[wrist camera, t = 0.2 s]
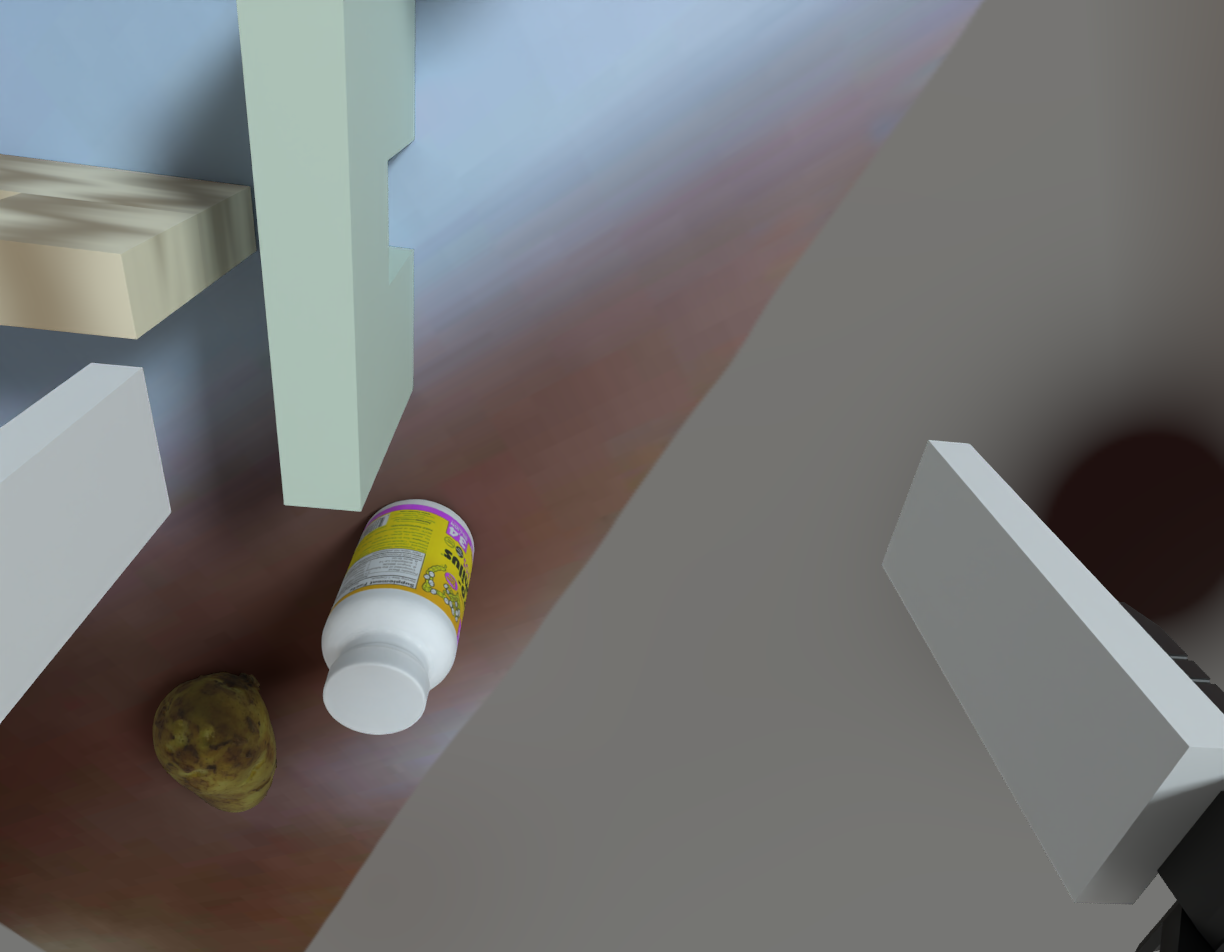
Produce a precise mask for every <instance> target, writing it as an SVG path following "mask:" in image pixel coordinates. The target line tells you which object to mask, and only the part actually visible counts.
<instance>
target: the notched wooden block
mask: <svg viewBox="0 0 1224 952" xmlns="http://www.w3.org/2000/svg"><path fill="white" fill-rule="evenodd" d="M256 251H257V250H256V239H255V229H254V219H253V208H252V198H251V188H250V186H244V185H236V184H229V183H221V182H213V181H205V180H197V179H190V178H182V177H174V176H166V175H159V174H151V173H143V172H135V171H128V170H120V169H112V168H104V167H97V166H89V165H81V164H73V163H66V162H58V161H50V160H42V159H34V158H27V157H19V156H11V155H3V154H0V325H6V326H16V327H25V328H35V329H44V330H53V331H63V332H72V333H82V334H91V335H100V336H110V337H119V338H129V339H138V338H139V337H141V336H142V335H143V334H145V333H146V332H147V331H149V330H150V329H151V328H153V327H154V326H156V325H157V324H158V323H160V322H161V321H162V320H164V319H165V318H166V317H168V316H169V315H170V314H172V313H173V312H174V311H176V310H177V309H179V308H180V307H181V306H183V305H184V304H185V303H187V302H188V301H189V300H191V299H192V298H193V297H195V296H196V295H197V294H199V293H200V292H202V291H203V290H204V289H206V288H207V287H208V286H210V285H211V284H212V283H214V282H215V281H216V280H218V279H219V278H220V277H222V276H223V275H225V274H226V273H227V272H229V271H230V270H231V269H233V268H234V267H235V266H237V265H238V264H239V263H241V262H242V261H243V260H245V259H246V258H247V257H249V256H250V255H252V254H253V253H254V252H256Z"/></svg>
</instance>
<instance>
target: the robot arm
mask: <svg viewBox="0 0 1224 952" xmlns="http://www.w3.org/2000/svg"><path fill="white" fill-rule="evenodd" d="M170 513H171V508H170V503H169V498H168V493H167V488H166V483H165V478H164V473H163V468H162V463H161V458H160V453H159V448H158V443H157V438H156V433H155V428H154V423H153V418H152V413H151V407H150V402H149V397H148V392H147V387H146V382H145V377H144V372H143V367H132V366H121V365H110V364H100V363H90V364H89V365H87V366H86V367H85V368H83V369H82V370H80V371H79V372H78V373H76V374H75V375H73V376H72V377H71V378H69V379H68V380H66V381H65V382H64V383H62V384H61V385H59V386H58V387H57V388H55V389H54V390H52V391H51V392H50V393H48V394H47V395H46V396H44V397H43V398H41V399H40V400H39V401H37V402H36V403H34V404H33V405H32V406H30V407H29V408H27V409H26V410H25V411H23V412H22V413H20V414H19V415H18V416H16V417H15V418H13V419H12V420H11V421H9V422H8V423H6V424H5V425H4V426H2V427H1V428H0V723H1V722H2V720H3V719H4V718H5V717H6V716H7V714H8V713H9V712H10V711H11V709H12V708H13V707H14V706H15V704H16V703H17V702H18V701H19V699H20V698H21V697H22V696H23V695H24V693H25V692H26V691H27V690H28V688H29V687H30V686H31V685H32V683H33V682H34V681H35V680H36V678H37V677H38V676H39V675H40V674H41V672H42V671H43V670H44V669H45V667H46V666H47V665H48V664H49V662H50V661H51V660H52V659H53V658H54V656H55V655H56V654H57V653H58V651H59V650H60V649H61V648H62V646H63V645H64V644H65V643H66V641H67V640H68V639H69V638H70V637H71V635H72V634H73V633H74V632H75V630H76V629H77V628H78V627H79V625H80V624H81V623H82V622H83V621H84V619H85V618H86V617H87V616H88V614H89V613H90V612H91V611H92V609H93V608H94V607H95V606H96V604H97V603H98V602H99V601H100V600H101V598H102V597H103V596H104V595H105V593H106V592H107V591H108V590H109V588H110V587H111V586H112V585H113V583H114V582H115V581H116V580H117V579H118V577H119V576H120V575H121V574H122V572H123V571H124V570H125V569H126V567H127V566H128V565H129V564H130V563H131V561H132V560H133V559H134V558H135V556H136V555H137V554H138V553H139V551H140V550H141V549H142V548H143V546H144V545H145V544H146V543H147V542H148V540H149V539H150V538H151V537H152V535H153V534H154V533H155V532H156V530H157V529H158V528H159V527H160V526H161V524H162V523H163V522H164V521H165V519H166V518H167V517H168V516H169V514H170ZM882 567H883V569H884V570H885V572H886V574H887V576H888V577H889V579H890V581H891V583H892V584H893V586H894V588H895V590H896V591H897V593H898V595H899V596H900V598H901V600H902V602H903V604H904V605H905V607H906V609H907V611H908V612H909V614H910V616H911V618H912V619H913V621H914V623H915V625H916V626H917V628H918V630H919V631H920V633H921V635H922V637H923V639H924V640H925V642H926V644H927V646H928V647H929V649H930V651H931V653H932V654H933V656H934V658H935V660H936V662H937V663H938V665H939V667H940V669H941V670H942V672H943V674H944V675H945V677H946V679H947V681H948V683H949V684H950V686H951V688H952V690H953V691H954V693H955V695H956V696H957V698H958V700H959V702H960V704H961V705H962V707H963V709H964V711H965V712H966V714H967V716H968V718H969V719H970V721H971V723H972V725H973V726H974V728H975V730H976V732H977V733H978V735H979V737H980V739H981V740H982V742H983V744H984V746H985V747H986V749H987V751H988V753H989V754H990V756H991V758H992V760H993V761H994V763H995V765H996V767H997V769H998V770H999V772H1000V774H1001V776H1002V777H1003V779H1004V781H1005V783H1006V784H1007V786H1008V788H1009V790H1010V791H1011V793H1012V795H1013V797H1014V798H1015V800H1016V802H1017V804H1018V805H1019V807H1020V809H1021V810H1022V812H1023V814H1024V816H1025V818H1026V819H1027V821H1028V823H1029V825H1030V826H1031V828H1032V830H1033V832H1034V833H1035V835H1036V837H1037V839H1038V840H1039V842H1040V844H1041V846H1042V847H1043V849H1044V851H1045V853H1046V854H1047V856H1048V858H1049V860H1050V861H1051V863H1052V865H1053V867H1054V869H1055V870H1056V872H1057V874H1058V875H1059V877H1060V879H1061V881H1062V882H1063V884H1064V886H1065V888H1066V889H1067V891H1068V893H1069V895H1070V896H1071V898H1072V900H1073V902H1074V903H1097V904H1134V903H1135V901H1136V900H1137V899H1138V898H1139V896H1140V895H1141V894H1142V893H1143V891H1144V890H1145V888H1147V887H1148V885H1149V884H1150V883H1151V882H1152V880H1153V879H1154V878H1155V877H1156V875H1157V874H1158V873H1159V874H1160V876H1161V877H1162V879H1163V880H1164V882H1165V883H1166V885H1167V886H1168V888H1169V889H1170V890H1171V892H1172V893H1173V895H1174V896H1175V898H1176V899H1177V901H1176V902H1175V903H1174V905H1173V906H1172V907H1171V908H1170V909H1169V910H1168V911H1167V913H1166V914H1165V915H1164V916H1163V917H1162V919H1161V920H1160V921H1159V922H1158V923H1157V924H1156V926H1155V927H1154V928H1153V929H1152V930H1151V931H1150V932H1149V934H1148V935H1147V936H1146V937H1145V938H1144V940H1143V941H1142V942H1141V943H1140V944H1139V946H1138V948H1137V950H1136V951H1135V952H1153V951H1158V950H1160V952H1224V692H1223V691H1222V690H1221V689H1220V688H1219V687H1218V686H1217V685H1216V684H1210V681H1209V680H1210V678H1209V677H1208V676H1207V675H1206V674H1205V673H1204V672H1203V671H1202V670H1201V669H1200V668H1199V666H1198V665H1197V664H1195V662H1194V661H1188V659H1187V656H1188V655H1187V654H1186V653H1185V652H1184V651H1183V650H1182V649H1181V648H1180V647H1179V646H1178V645H1177V644H1176V643H1175V642H1174V641H1173V640H1172V639H1171V638H1170V637H1169V636H1168V635H1167V634H1166V633H1165V631H1164V630H1163V629H1162V628H1160V627H1159V626H1158V625H1156V624H1155V623H1153V622H1152V621H1150V620H1149V619H1147V618H1146V617H1145V616H1143V615H1142V614H1140V613H1139V612H1137V611H1136V610H1134V609H1133V608H1132V607H1130V606H1129V605H1127V604H1126V603H1124V602H1118V601H1117V600H1116V599H1115V598H1114V597H1113V596H1112V595H1111V594H1110V593H1109V592H1108V591H1107V590H1106V589H1105V587H1104V586H1102V584H1101V583H1100V582H1099V581H1098V580H1097V579H1096V578H1095V577H1094V576H1093V575H1092V574H1091V573H1090V572H1089V570H1088V569H1087V568H1086V567H1085V566H1084V565H1083V564H1082V563H1081V562H1080V561H1079V560H1078V559H1077V558H1076V557H1075V556H1074V554H1073V553H1072V552H1071V551H1070V550H1069V549H1068V548H1067V547H1066V546H1065V545H1064V544H1063V543H1062V542H1061V541H1060V540H1059V539H1058V538H1057V536H1056V535H1055V534H1054V533H1053V532H1052V531H1051V530H1050V529H1049V528H1048V527H1047V526H1046V525H1045V524H1044V523H1043V522H1042V520H1040V518H1039V517H1038V516H1037V515H1036V514H1035V513H1034V512H1033V511H1032V510H1031V509H1030V508H1029V507H1028V506H1027V505H1026V503H1025V502H1024V501H1023V500H1022V499H1021V498H1020V497H1019V496H1018V495H1017V494H1016V493H1015V492H1014V491H1013V490H1012V489H1011V488H1010V486H1009V485H1008V484H1007V483H1006V482H1005V481H1004V480H1003V479H1002V478H1001V477H1000V476H999V475H998V474H997V473H996V472H995V470H994V469H993V468H992V467H991V466H990V465H989V464H988V463H987V462H986V461H985V460H984V459H983V458H982V457H981V456H980V455H979V454H978V452H976V450H975V449H974V448H973V447H972V446H971V445H970V444H966V443H955V442H944V441H933V440H928V442H927V445H926V448H925V451H924V453H923V456H922V459H921V461H920V464H919V466H918V469H917V472H916V474H915V477H914V480H913V482H912V485H911V488H910V490H909V493H908V496H907V498H906V501H905V504H904V506H903V509H902V511H901V514H900V517H899V519H898V522H897V525H896V527H895V530H894V533H893V535H892V538H891V541H890V543H889V546H888V549H887V551H886V554H885V557H884V559H883V562H882Z"/></svg>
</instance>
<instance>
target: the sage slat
mask: <svg viewBox="0 0 1224 952" xmlns="http://www.w3.org/2000/svg"><path fill="white" fill-rule="evenodd" d="M236 2H237V12H238V23H239V33H240V44H241V55H242V65H243V76H244V86H245V97H246V107H247V118H248V128H249V139H250V150H251V160H252V171H253V181H254V192H255V202H256V213H257V224H258V234H259V245H260V255H261V266H262V276H263V287H264V297H265V308H266V319H267V329H268V340H269V350H270V361H271V371H272V382H273V392H274V403H275V414H276V424H277V435H278V445H279V456H280V466H281V477H282V488H283V498H284V505H291V506H302V507H314V508H326V509H337V510H349V511H361V510H362V508H363V505H364V503H365V501H366V498H367V496H368V494H369V491H370V489H371V487H372V484H373V482H374V480H375V477H376V475H377V473H378V470H379V468H380V465H381V463H382V461H383V458H384V456H385V454H386V451H387V449H388V447H389V444H390V442H391V440H392V437H393V435H394V433H395V430H396V428H397V425H398V423H399V421H400V418H401V416H402V414H403V411H404V409H405V407H406V404H407V402H408V400H409V397H410V395H411V393H412V390H413V315H414V249H407V248H399V247H390V246H389V235H388V160H389V159H390V158H392V157H393V156H394V155H396V154H397V153H398V152H399V151H401V150H402V149H403V148H405V147H406V146H407V145H408V144H410V143H411V142H412V141H414V140H415V0H236Z"/></svg>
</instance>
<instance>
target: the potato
mask: <svg viewBox="0 0 1224 952" xmlns="http://www.w3.org/2000/svg"><path fill="white" fill-rule="evenodd" d="M239 675H240V676H237V675H234V674H230V673H228V672H219V673H213V674H210V675H205V676H202V675H200V676H199V677H198V678H196V679H193V680H190V681H187V682H184V683H181V684H180V685H179V686H177V687H176V688H174V689H173V690H172V691H171V692H170V693H169V694H168V695H167V696H166V697H165V698H164V700H163V701H162V702H161V704H160V706H159V707H158V709H157V711H156V714H155V717H154V722H153V743H154V748H155V752H156V755H157V757H158V759H159V761H160V763H161V764H162V766H163V768H164V769H165V770H166V771H167V773H169V774H170V775H171V776H172V777H173V778H174V779H175V780H176V781H177V782H179V783H180V784H181V785H182V786H184V787H186V788H187V789H189V790H191V791H193V792H194V793H195V794H197V795H198V796H199V797H200V798H201V799H203V800H204V801H205V802H206V803H208V804H209V805H211V806H213V807H215V808H217V809H219V810H223V811H227V812H242V811H246V810H248V809H251V808H253V807H254V806H256V805H257V804H259V803H260V802H261V801H262V800H263V798H264V797H265V796H266V794H267V792H268V790H269V788H270V787H271V784H272V780H273V775H274V772H275V768H277V765H276V763H277V759H276V743H275V737H274V732H273V729H272V725H271V722H270V719H269V714H268V711H267V708H266V705H265V703H264V701H263V699H262V698H261V696H260V694H259V692H258V690H260V688H259V687H258V686H260V684H259V682H258V681H257V679H256V678H255V677H254V676H253V675H247V674H245V673H241V674H239Z"/></svg>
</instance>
